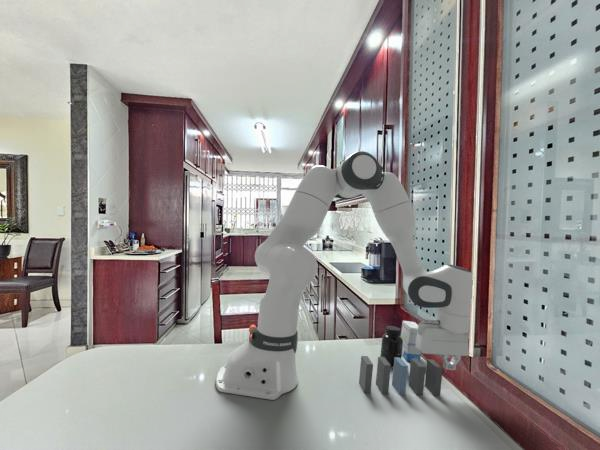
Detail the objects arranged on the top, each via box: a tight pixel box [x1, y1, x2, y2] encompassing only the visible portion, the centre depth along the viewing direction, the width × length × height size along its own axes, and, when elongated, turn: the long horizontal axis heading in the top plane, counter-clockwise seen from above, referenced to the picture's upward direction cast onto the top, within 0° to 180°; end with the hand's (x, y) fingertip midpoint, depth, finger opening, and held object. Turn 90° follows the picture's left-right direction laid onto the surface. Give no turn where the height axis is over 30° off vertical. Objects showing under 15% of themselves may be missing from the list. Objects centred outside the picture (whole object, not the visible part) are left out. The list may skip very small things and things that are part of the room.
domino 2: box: [375, 356, 392, 395], centre depth 83 cm, size 2×5×8 cm, turn 4°
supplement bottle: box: [379, 325, 403, 368], centre depth 99 cm, size 7×7×12 cm
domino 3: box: [391, 357, 409, 395], centre depth 83 cm, size 2×5×8 cm, turn 5°
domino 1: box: [358, 355, 374, 394], centre depth 82 cm, size 2×5×8 cm, turn 5°
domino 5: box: [424, 358, 444, 397], centre depth 84 cm, size 2×5×8 cm, turn 5°
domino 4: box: [408, 358, 427, 397], centre depth 83 cm, size 2×5×8 cm, turn 5°
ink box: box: [400, 320, 422, 362], centre depth 106 cm, size 9×5×12 cm, turn 179°
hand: (449, 368), depth 84 cm, fingers closed
